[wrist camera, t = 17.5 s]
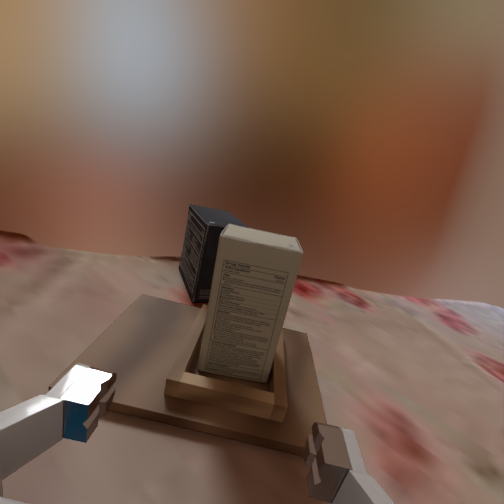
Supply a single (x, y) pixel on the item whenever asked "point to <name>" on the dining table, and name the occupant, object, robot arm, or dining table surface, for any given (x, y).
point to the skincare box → (248, 302)
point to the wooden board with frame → (204, 378)
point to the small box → (202, 248)
